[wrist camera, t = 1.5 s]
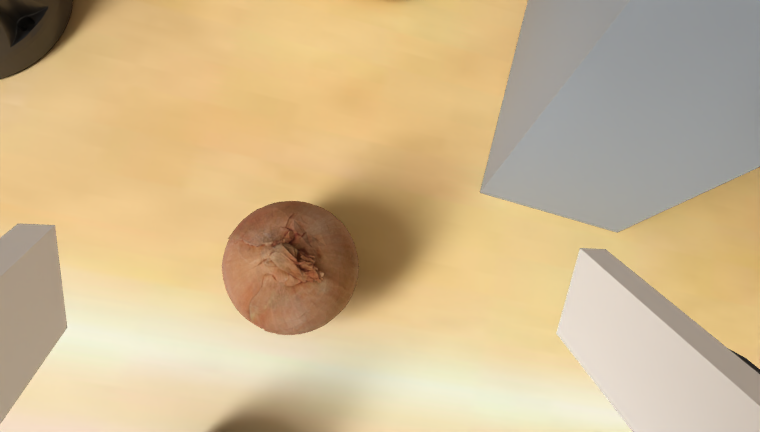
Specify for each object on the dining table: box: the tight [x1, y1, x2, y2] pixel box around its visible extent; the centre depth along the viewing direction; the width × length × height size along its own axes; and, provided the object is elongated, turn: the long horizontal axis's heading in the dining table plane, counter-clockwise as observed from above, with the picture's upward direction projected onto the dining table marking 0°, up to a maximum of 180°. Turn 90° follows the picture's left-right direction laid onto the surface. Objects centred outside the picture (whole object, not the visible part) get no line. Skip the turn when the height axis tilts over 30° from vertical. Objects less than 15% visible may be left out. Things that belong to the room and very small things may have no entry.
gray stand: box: [480, 0, 760, 232], centre depth 33 cm, size 20×12×30 cm, turn 164°
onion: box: [222, 201, 359, 335], centre depth 37 cm, size 10×9×10 cm
